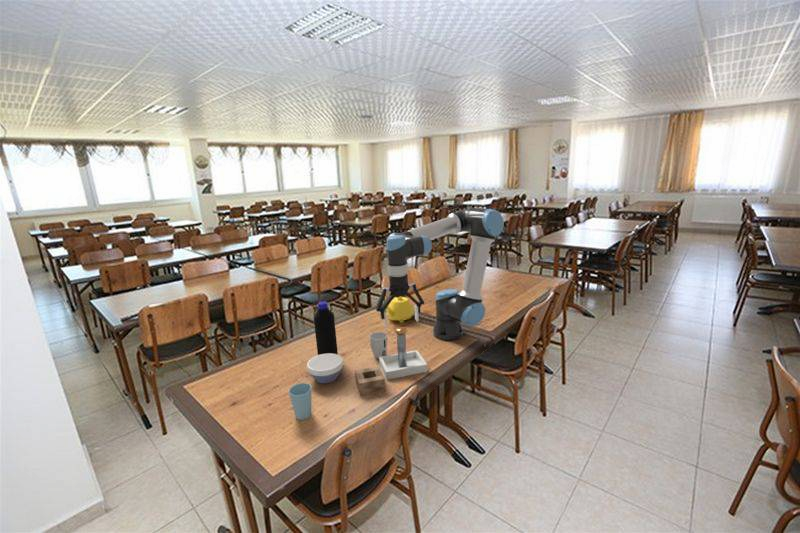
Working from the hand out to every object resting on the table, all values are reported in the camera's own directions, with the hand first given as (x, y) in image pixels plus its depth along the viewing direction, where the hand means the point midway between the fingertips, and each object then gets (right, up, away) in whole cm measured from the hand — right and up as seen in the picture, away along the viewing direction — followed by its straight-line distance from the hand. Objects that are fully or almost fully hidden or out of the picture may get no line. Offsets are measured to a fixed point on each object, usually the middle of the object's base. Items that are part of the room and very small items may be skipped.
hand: (401, 323), depth 155 cm
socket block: (-12, -24, -8) cm, 28 cm away
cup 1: (-35, -29, -23) cm, 51 cm away
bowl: (-31, -23, 0) cm, 39 cm away
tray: (+1, -20, +5) cm, 20 cm away
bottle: (-33, -19, +13) cm, 40 cm away
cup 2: (-10, -18, +16) cm, 26 cm away
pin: (0, -19, +5) cm, 20 cm away
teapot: (-2, -7, +56) cm, 56 cm away
